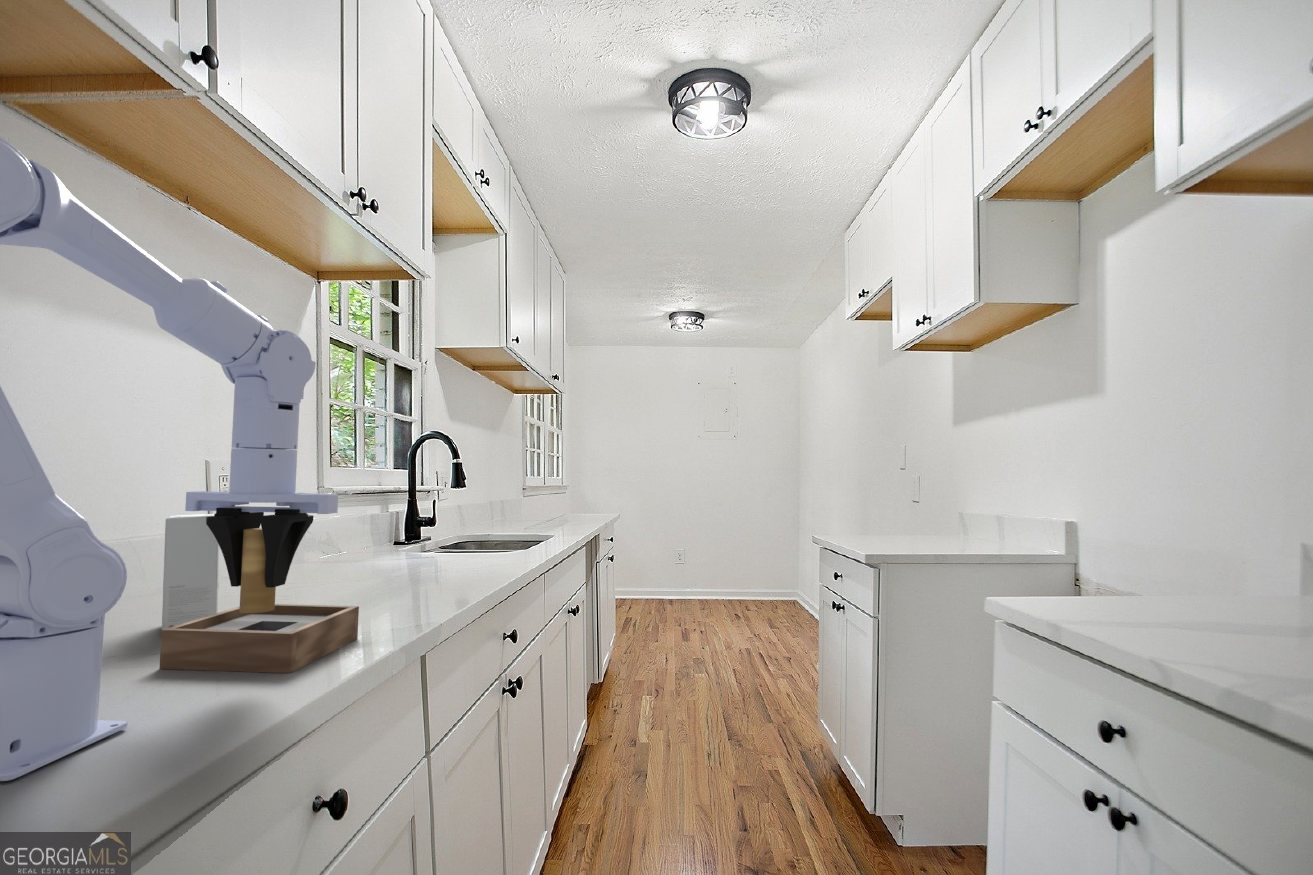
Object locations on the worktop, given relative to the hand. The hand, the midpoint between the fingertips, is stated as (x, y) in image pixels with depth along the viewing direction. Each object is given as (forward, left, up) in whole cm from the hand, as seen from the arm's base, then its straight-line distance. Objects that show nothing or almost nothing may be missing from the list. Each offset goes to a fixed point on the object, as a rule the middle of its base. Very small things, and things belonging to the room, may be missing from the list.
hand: (258, 585), depth 65 cm
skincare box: (+20, +22, -10) cm, 31 cm away
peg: (0, 0, -2) cm, 2 cm away
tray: (+10, +5, -10) cm, 15 cm away
